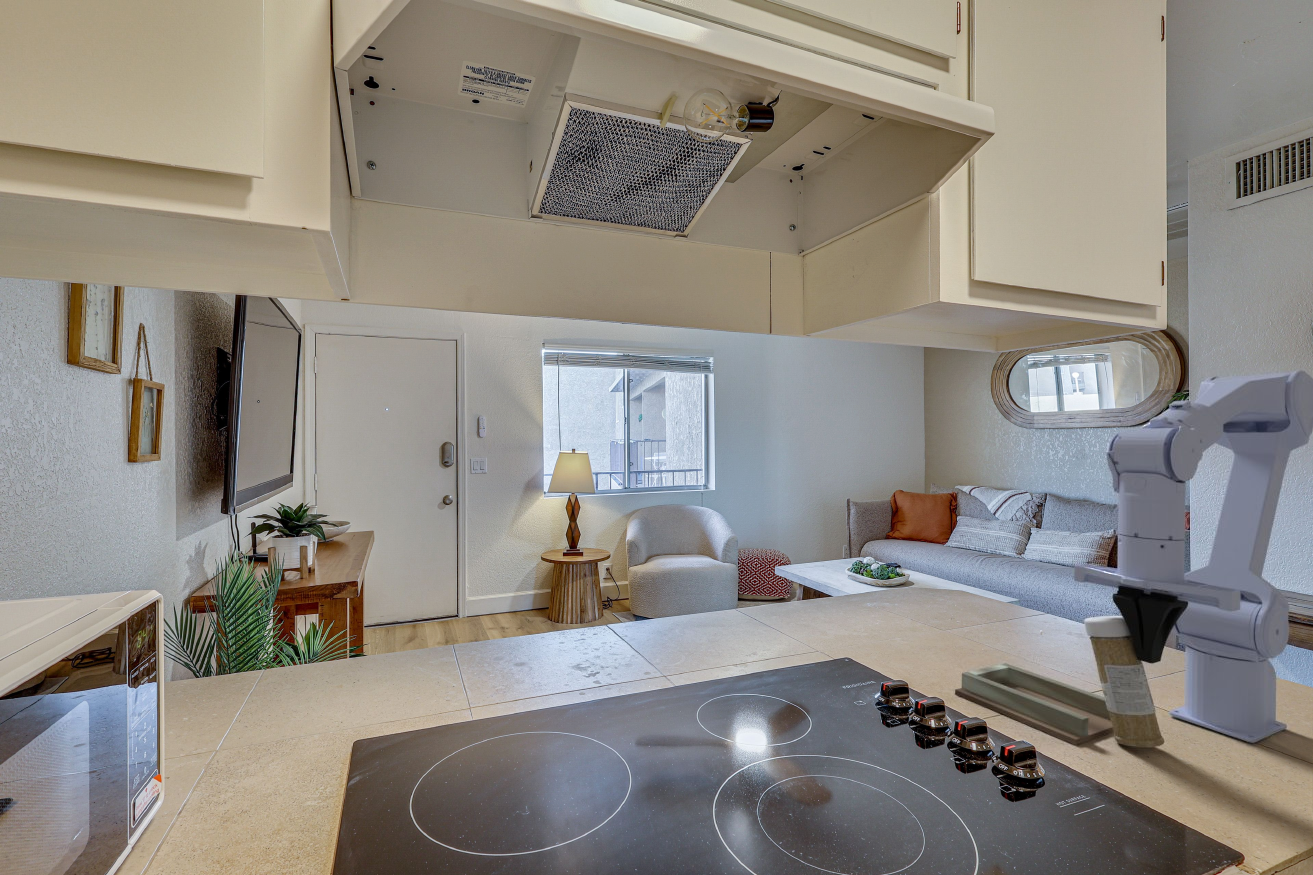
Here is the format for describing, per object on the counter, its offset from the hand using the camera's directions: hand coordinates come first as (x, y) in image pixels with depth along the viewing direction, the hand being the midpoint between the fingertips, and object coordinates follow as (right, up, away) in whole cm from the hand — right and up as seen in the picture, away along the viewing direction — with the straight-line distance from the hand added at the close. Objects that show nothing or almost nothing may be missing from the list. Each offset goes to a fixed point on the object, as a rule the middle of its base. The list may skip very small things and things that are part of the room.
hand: (1148, 660), depth 66 cm
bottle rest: (-6, -10, +10) cm, 15 cm away
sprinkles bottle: (-1, -10, 0) cm, 10 cm away
